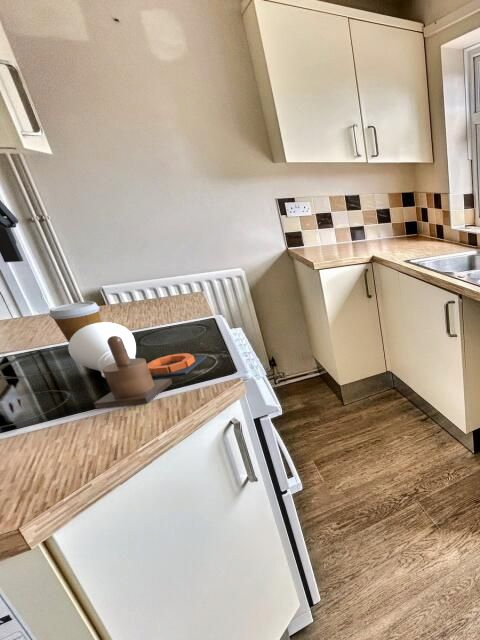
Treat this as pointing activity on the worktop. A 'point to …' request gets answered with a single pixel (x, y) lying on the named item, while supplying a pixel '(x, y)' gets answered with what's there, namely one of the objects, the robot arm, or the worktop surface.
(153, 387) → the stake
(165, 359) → the ring
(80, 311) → the disposable coffee cup
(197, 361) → the mat
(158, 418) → the worktop surface
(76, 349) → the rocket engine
